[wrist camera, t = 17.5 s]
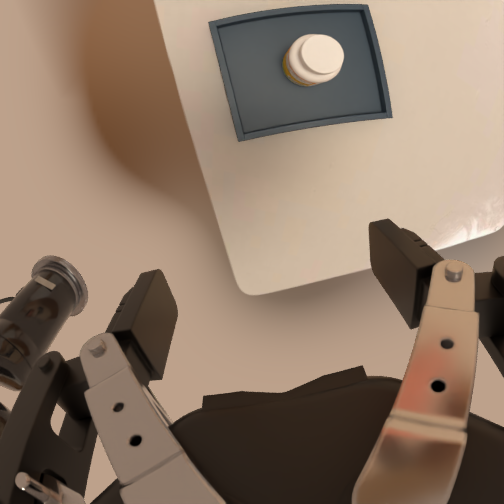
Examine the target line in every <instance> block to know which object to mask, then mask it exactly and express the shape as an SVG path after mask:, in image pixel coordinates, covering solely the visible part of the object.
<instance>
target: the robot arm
mask: <svg viewBox="0 0 504 504" xmlns="http://www.w3.org/2000/svg"><path fill="white" fill-rule="evenodd" d="M369 243H370V262H371V267H372V270H373V273H374V275H375V276H376V278H377V279H378V280H379V282H380V284H381V285H382V287H383V288H384V289H385V291H386V292H387V294H388V295H389V297H390V298H391V300H392V301H393V303H394V304H395V306H396V307H397V309H398V311H399V312H400V314H401V315H402V316H403V318H404V320H405V321H406V323H407V324H408V326H409V328H410V329H414V328H417V327H419V328H418V332H417V336H416V339H415V343H414V346H413V350H412V353H411V356H410V359H409V363H408V366H407V369H406V372H405V375H404V378H403V380H400V379H396V378H392V377H384V376H367V375H366V373H365V370H364V368H363V366H358V367H355V368H351V369H347V370H343V371H340V372H336V373H332V374H328V375H324V376H321V377H319V378H317V379H315V380H313V381H310V382H308V383H306V384H304V385H301V386H299V387H297V388H294V389H292V390H290V391H287V392H283V393H265V392H245V391H240V392H232V393H225V394H217V395H207V396H203V403H202V408H200V409H197V410H195V411H192V412H190V413H188V414H186V415H185V416H183V417H181V418H180V419H178V420H177V421H175V422H173V421H172V420H171V419H170V417H169V416H168V414H167V413H166V411H165V410H164V409H163V407H162V406H161V404H160V403H159V401H158V400H157V398H156V397H155V395H154V394H153V392H152V391H151V389H150V388H149V387H148V385H149V381H152V380H162V378H163V374H164V369H165V365H166V361H167V357H168V353H169V349H170V344H171V341H172V336H173V333H174V329H175V324H176V321H177V317H178V310H177V305H176V302H175V299H174V297H173V295H172V293H171V291H170V288H169V286H168V283H167V281H166V279H165V276H164V274H163V272H162V271H161V270H160V269H157V270H153V271H149V272H144V273H141V274H140V276H139V278H138V280H137V282H136V284H135V285H134V287H132V288H131V289H130V290H129V291H128V292H127V293H126V294H125V295H124V297H123V299H122V300H121V302H120V304H119V305H120V306H118V308H117V310H116V313H115V314H114V316H113V318H112V320H111V322H110V324H109V326H108V328H107V330H106V332H105V333H101V334H98V335H96V336H94V337H92V338H91V339H89V340H88V341H87V342H86V343H85V344H84V345H83V347H82V349H81V351H80V356H79V357H76V358H74V359H71V360H68V361H65V359H64V358H63V357H62V355H61V354H60V353H59V352H57V351H51V352H49V353H46V352H47V351H48V349H49V347H50V346H51V344H52V342H53V341H54V339H55V338H56V336H57V334H58V333H59V331H60V330H61V328H62V327H63V325H64V323H65V322H66V320H67V319H68V318H69V316H70V315H71V313H72V312H73V311H74V310H75V308H76V307H77V305H78V301H79V296H78V292H77V289H76V287H75V285H74V283H73V282H72V280H71V279H70V278H69V277H68V276H67V275H66V274H65V273H64V272H63V271H61V270H59V269H57V268H55V267H51V266H45V267H42V268H41V269H40V270H39V271H38V272H37V273H36V275H35V276H34V277H33V278H32V279H31V280H30V281H29V282H28V283H27V285H26V286H25V287H23V288H21V290H20V291H19V292H18V293H17V294H16V297H8V298H4V299H1V300H0V303H4V302H8V301H11V302H10V304H9V305H8V306H7V307H6V308H5V310H4V311H3V312H2V313H1V314H0V386H2V387H5V388H7V389H10V390H13V391H21V392H20V394H19V396H18V398H17V400H16V402H15V404H14V407H13V409H12V411H10V410H9V409H8V408H7V407H6V406H5V405H3V404H2V403H1V402H0V504H85V501H84V496H85V490H86V485H87V479H88V474H89V470H90V465H91V459H92V455H93V451H94V447H95V443H96V438H97V434H99V437H100V439H101V442H102V444H103V447H104V449H105V451H106V453H107V456H108V458H109V460H110V463H111V465H112V467H113V469H114V471H115V473H116V475H117V477H118V478H117V479H116V480H115V481H114V482H113V483H112V484H111V485H109V486H108V487H107V488H106V489H105V490H104V491H103V492H102V493H101V494H100V495H99V496H98V497H97V498H95V499H94V500H93V501H92V502H91V503H90V504H504V427H502V426H500V425H498V424H495V423H493V422H491V421H489V420H486V419H484V418H482V417H479V416H477V415H475V414H473V413H471V412H469V411H470V405H471V399H472V394H473V387H474V380H475V372H476V363H477V352H478V338H479V339H480V341H481V342H482V344H483V345H484V347H485V348H486V350H487V351H488V353H489V354H490V356H491V358H492V359H493V361H494V363H495V364H496V366H497V367H498V369H499V371H500V372H501V374H502V376H503V377H504V256H502V257H499V258H497V259H496V260H495V261H494V266H493V271H492V272H483V273H474V270H473V269H472V268H471V267H470V266H469V265H468V264H466V263H464V262H462V261H458V260H444V259H443V258H442V257H441V256H440V255H439V254H438V253H437V252H436V251H435V250H433V249H432V248H431V247H430V246H428V245H427V243H426V242H424V241H423V240H422V239H421V238H420V237H419V236H418V235H416V234H415V233H414V232H412V231H409V230H407V229H404V228H402V229H400V228H399V227H398V226H397V225H396V224H394V223H393V222H392V221H391V220H390V219H384V220H379V221H375V222H370V224H369ZM56 403H57V404H58V405H59V406H60V407H61V408H62V409H63V410H64V411H65V412H66V415H65V418H64V421H63V424H62V427H61V430H60V433H59V436H58V435H56V434H55V433H54V431H53V430H52V428H51V424H50V420H51V416H52V414H53V411H54V408H55V406H56Z"/></svg>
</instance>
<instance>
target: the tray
mask: <svg viewBox="0 0 504 504" xmlns="http://www.w3.org/2000/svg"><path fill="white" fill-rule="evenodd" d="M208 23H209V27H210V31H211V34H212V38H213V42H214V46H215V50H216V54H217V58H218V62H219V66H220V70H221V74H222V78H223V82H224V86H225V90H226V94H227V98H228V102H229V106H230V110H231V114H232V118H233V122H234V126H235V130H236V134H237V138H238V142H241V141H245V140H250V139H254V138H259V137H264V136H269V135H274V134H279V133H284V132H289V131H295V130H301V129H307V128H313V127H319V126H326V125H333V124H340V123H348V122H356V121H365V120H375V119H385V118H393V117H392V110H391V103H390V97H389V91H388V85H387V80H386V75H385V70H384V65H383V60H382V56H381V52H380V47H379V43H378V39H377V35H376V31H375V28H374V24H373V20H372V17H371V14H370V10H369V7H368V5H364V4H363V5H362V4H330V5H311V6H298V7H289V8H280V9H272V10H266V11H259V12H253V13H248V14H242V15H237V16H232V17H228V18H223V19H219V20H215V21H211V22H208ZM309 34H317V35H327V36H329V37H332V38H333V39H335V40H336V41H337V42H338V43H339V44H340V46H341V47H342V49H343V53H344V60H343V63H342V66H341V69H340V71H339V73H338V74H337V75H336V76H335V77H334V78H332V79H331V80H329V81H327V82H323V83H320V84H317V85H313V86H300V85H297V84H295V83H293V82H291V81H290V80H289V79H288V78H287V77H286V75H285V73H284V71H283V67H282V62H283V58H284V56H285V54H286V52H287V51H288V50H289V48H290V47H291V46H292V44H293V43H294V42H295V41H296V40H297V39H298V38H300V37H302V36H305V35H309Z"/></svg>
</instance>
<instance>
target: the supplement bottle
mask: <svg viewBox="0 0 504 504" xmlns="http://www.w3.org/2000/svg"><path fill="white" fill-rule="evenodd" d="M343 60H344V53H343V49H342V47H341V46H340V44H339V43H338V42H337V41H336V40H335V39H333V38H332V37H329V36H327V35H317V34H309V35H305V36H302V37H300V38H298V39H297V40H296V41H295V42H294V43H293V44H292V46H291V47H290V48H289V50H288V51H287V52H286V54H285V56H284V58H283V62H282V67H283V71H284V73H285V75H286V77H287V78H288V79H289V80H290V81H291V82H293V83H295V84H297V85H300V86H313V85H317V84H320V83H323V82H327V81H329V80H331V79H332V78H334V77H335V76H336V75H337V74H338V73H339V71H340V69H341V66H342V63H343Z"/></svg>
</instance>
